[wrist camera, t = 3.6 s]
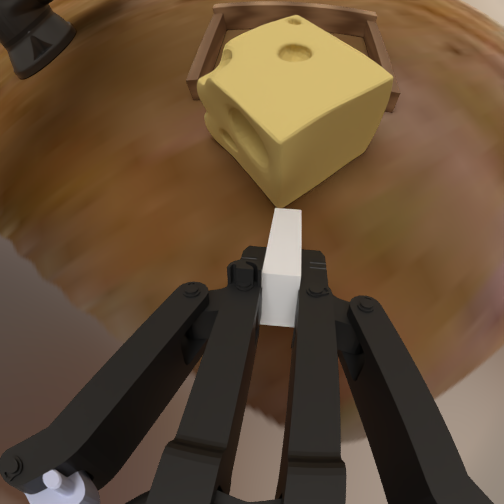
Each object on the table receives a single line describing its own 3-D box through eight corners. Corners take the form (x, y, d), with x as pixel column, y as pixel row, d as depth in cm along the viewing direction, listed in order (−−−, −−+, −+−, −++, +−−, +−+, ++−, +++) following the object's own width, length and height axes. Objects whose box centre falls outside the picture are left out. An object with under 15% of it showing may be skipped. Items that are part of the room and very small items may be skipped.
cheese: (209, 138, 26) (179, 58, 16) (298, 87, 26) (300, 8, 17) (279, 220, 23) (276, 148, 13) (372, 154, 24) (406, 75, 14)
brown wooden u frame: (193, 99, 27) (183, 73, 23) (219, 26, 31) (214, 4, 27) (392, 112, 25) (403, 86, 21) (370, 34, 28) (375, 12, 24)
